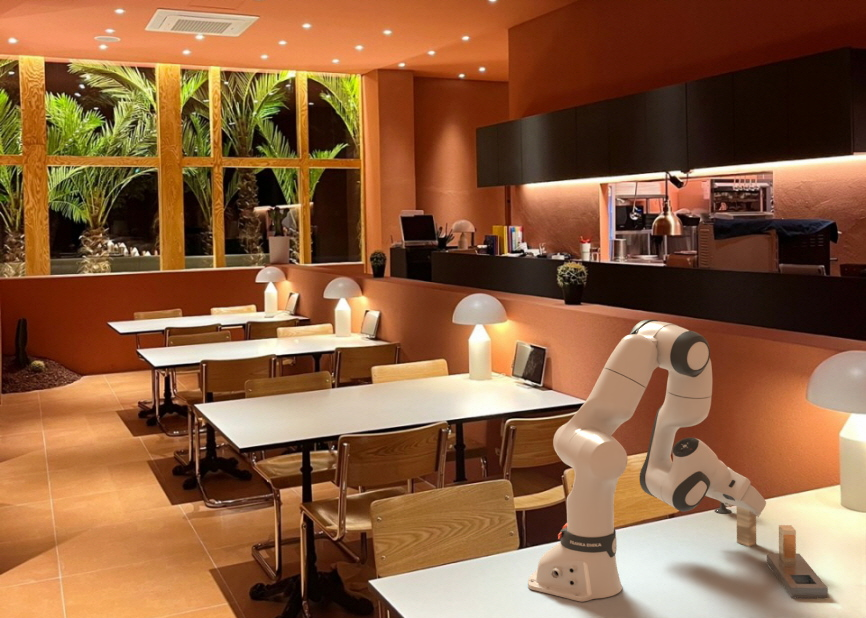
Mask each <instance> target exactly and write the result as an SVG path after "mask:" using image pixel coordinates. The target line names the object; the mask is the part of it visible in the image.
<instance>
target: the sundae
mask: <svg viewBox="0 0 866 618" xmlns="http://www.w3.org/2000/svg"><path fill="white" fill-rule="evenodd" d="M717 510H718V511H717ZM717 512H718V513H717ZM714 513H717V514H719V515H720V514H721V515H723V514H724V515H727V514H731V513H732V510H731V509H729V508H727V506H726V505H725V504H724V503H722V502H721V501H720V507H718V508H715V509H714Z"/></svg>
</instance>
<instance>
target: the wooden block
mask: <svg viewBox="0 0 866 618" xmlns="http://www.w3.org/2000/svg"><path fill="white" fill-rule="evenodd" d="M736 543H737V544H740V545H742V546H747V547H752V546H755V545H757V516H754V515H753V514H752V513H751V511H749V510H746V509H743V508H740V507H737V506H736Z"/></svg>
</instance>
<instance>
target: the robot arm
mask: <svg viewBox="0 0 866 618" xmlns="http://www.w3.org/2000/svg"><path fill="white" fill-rule="evenodd" d="M657 368H660V369H664V370H667V371H668V377H667V383H666V391H665V398H664V402H663V404H662V405H661V406H659V408H658V409H657V412H656V415H655V417H654V421H653V424H652V429H651V435H650V439H649V443H648V449H647V452H646V456H645V460H644V462H643V464H642V466H641V469H640V472H639V484H640V488H641V489H642V490H643V492H644V493H646V494H647V495H650V496H652V497H653V498H655V499H656V498H657V499H658V500H659V501H662V502H663V503H664V504H666V505H669V506H670V507H672V508H674V509H676V510H677V511H679V512H689V511H691V510H694V509H695V508H696V507H698V505H699V504H700V503H701V502H702V501H703V499H704V498H705V497H708V498H711V499H714V500H717V501H719V502H720V503H721V502H722V503H724V504H725V507H729V508H732V507H734V506H735V507H736V508H737V507H740V508H743V509H746V510H749V511H751V513H752V514H753V515H754V516H756V518H758V517H760V516H761V514H762V512H763V511H764V509H765V507H766V505H767V501H766V499H765V498H764V496H762V494H761V493H760V492H759V491H758V489H756V488H755V487H754V486H753V485H751V483H752V481H751V480H750V479H749V478H748V477H745V476H744V475H742V474H740V473H738V472H736V471H734V470H733V469H732V468H730V467H729V466H727V465H726V464H725V463H724V462H723V461H722V460H721V459H719V458H718V455H717V454H716V453H715V452H714V451H713V450H712V448H710V447H709V445H707V444H706V443H705V442H704V441H702V440H701V439H698V438H696V437H685V438H682V439H680V440H678V441H677V442H676V443H675V442H674V441H675V437H676V433H677V432H678V430H679V429H680V428H689V427H693V426H696V425H699V424H701V423H702V422H703V421H704V420H706V419H707V417H708V416H709V413H710V409H711V406H712V395H713V369H712V361H711V349H710V345H709V342H708V340H707V339H706V338H705V337H704V336H703V335H702V334H700V333H698V332H696V331H694V330H689V329H687V328H685V327H682V326H679V325H677V324H674V323H671V322H665V321H659V320H657V319H644V320H641V321H639V322H638V323H637V324H636V325H634V326H633V328H632V329H631V330H630V333H629V334H627V335H625V336H624V337H622V338H621V340H620V341H619V342H618V344H617V345H616V346H615V348H614V350H613V351H612V352H611V354H610V356H609V357H608V359H607V361H606V362H605V364H604V365H603V368H602V370H601V372H600V374H599V375H598V378H597V380H596V382H595V384H594V386H593V388H592V390H591V391H590V393H589V395H588V397H587V398H586V400H585V402H583V404H582V405H581V406H580V408H579V409H578V410H577V411H576V413H575V414H574V415H573V416H572V417H571V418H570V419H569V420H568V421H567V422H566V423H564V424H563V425H561V426H559V427H558V428H557V430H556V431H555V433H554V435H553V440H552V441H553V442H552V443H553V444H552V445H553V446H552V447H553V449H554V451H555V453H556V454H557V456H558V457H559V459H560V460H561V461H562V462H563V463H564V464H565V465H566V466H569V467H571V468H573V472H574V477H573V478H574V479H573V485H572V488H571V491H570V492H569V494H568V495H567V496H566V523H565V524H564V525H563V526H562V529H561V530H560V531H559V533H558V534H557V537H558V538H557V540H559V541H560V542H558V543H557V544H556V545H554V546H553V547H551V548H550V549H548V550H547V551H546V552H545V553H544V554H543V555H542V556H541V557H540V559H539V561H538V563H537V564H538V565H537V569H536V570H535V571H533V573H532V574H531V575H530V576H529V577H528V581H527V587H528V589H530V590H532V591H535V592H540V593H544V594H548V595H552V596H553V595H554V596H557V597H561V598H565V599H568V600H572V601H576V602H577V601H578V602H588V601H591V600H594V599H596V600H597V599H604V598H610V597H613V596H615V595H617V594H619V593H620V592H621V591H622V589H623V585H622V582H621V579H620V575H619V571H618V565H617V558H616V554H617V546H618V545H617V540H618V539H617V536H616V535H617V533H616V532H617V531H616V529H615V528H614V527H615V525H614V524H615V523H614V521H615V517H614V516H615V515H614V511H615V510H614V506H615V504H614V501H615V500H614V499H615V494H616V490H617V484H618V481H619V479H620V477H621V476H622V475H623V474H624V472H625V471H626V468H627V466H628V454H627V451H626V449H625V448H624V447H623V445H622V444H621V443H620V442H619V441H618V440H617V439H616V438H615V437H614V436H612V435H613V434H614V433H615V432H616V430H618V428H619V427H620V426H621V425H623V424H624V423H625V422H628V421H629V420H630V419H631V418H632V417H633V416H634V414H635V411H636V409H637V407H638V406H639V403H640V401H641V399H642V397H643V395H644V393H645V392H646V389H647V387H648V385H649V383H650V380H651V378H652V375H653V372H654V371H655V369H657ZM674 443H675V444H674ZM673 445H674V446H673ZM671 455H672V456H671ZM671 457H672V458H671Z"/></svg>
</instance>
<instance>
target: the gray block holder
mask: <svg viewBox="0 0 866 618" xmlns="http://www.w3.org/2000/svg"><path fill="white" fill-rule="evenodd" d="M766 564H767V565H768V567H769V568H770V570H771V571H772V572H773V574H774V576H775V577H776V579H777V580H778V581H779V583H780V584H781V586H782V587H783V588H784V590H785V591H786V593H787V594H788V596H789V595H790V596H789V597H790V598H791V599H817V598H828V599H829V597H828V595H829V588H828V586H827V585H826V584H825V583H824V582H823V580H822V579H821V578H820V577H819V575H818V574H817V573H816V572H815V570H814V569H813V568H812V567H811V566H810V565H809V563H808V562H807V561H806V559H804V557H803V556H802V555H801V553H797V530H796V529H795V527H793V526H792V525H791V524H790V525H789V524H787V525H785V524H779V525H778V553H776V552H775V553H771V552H770V553H769V552H768V553H766Z"/></svg>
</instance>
